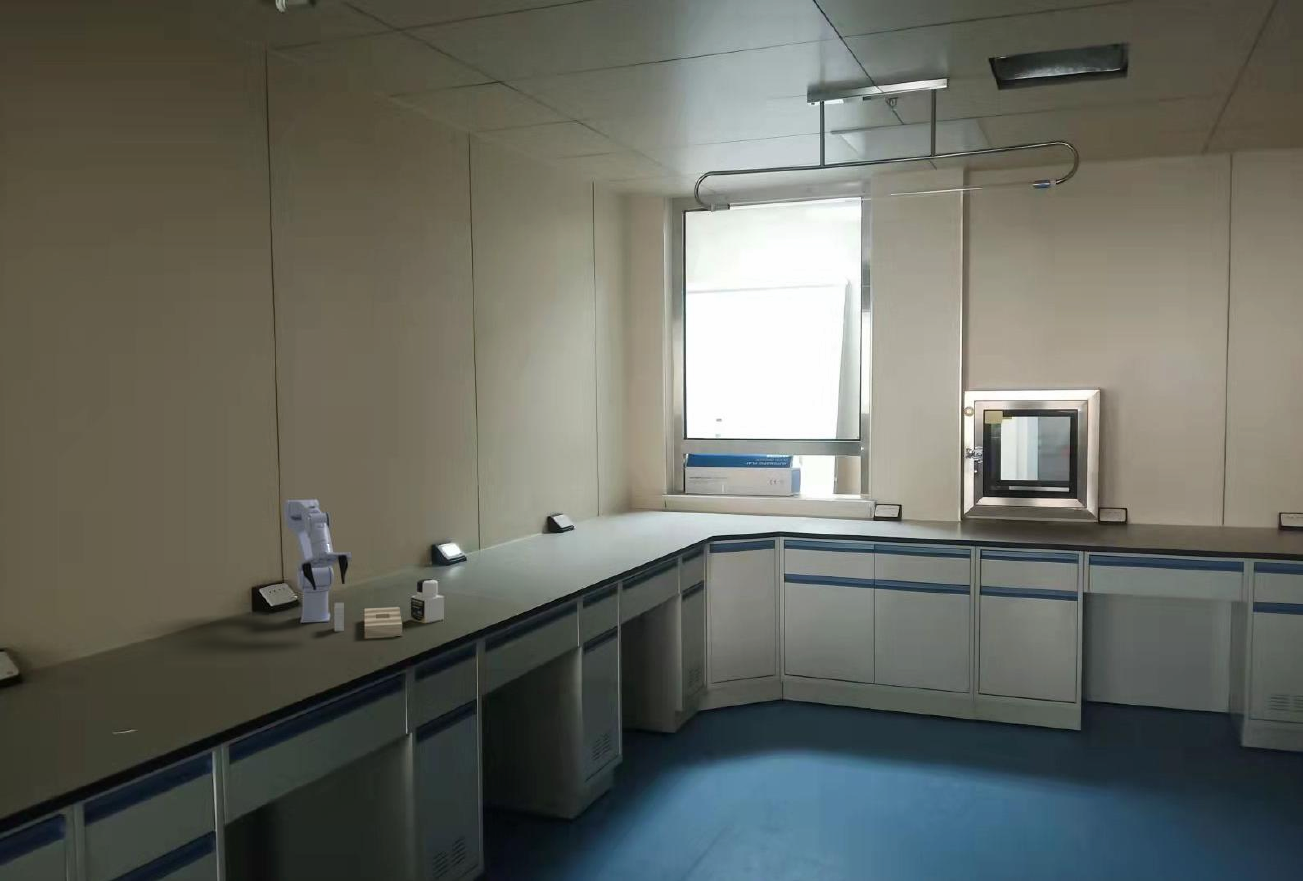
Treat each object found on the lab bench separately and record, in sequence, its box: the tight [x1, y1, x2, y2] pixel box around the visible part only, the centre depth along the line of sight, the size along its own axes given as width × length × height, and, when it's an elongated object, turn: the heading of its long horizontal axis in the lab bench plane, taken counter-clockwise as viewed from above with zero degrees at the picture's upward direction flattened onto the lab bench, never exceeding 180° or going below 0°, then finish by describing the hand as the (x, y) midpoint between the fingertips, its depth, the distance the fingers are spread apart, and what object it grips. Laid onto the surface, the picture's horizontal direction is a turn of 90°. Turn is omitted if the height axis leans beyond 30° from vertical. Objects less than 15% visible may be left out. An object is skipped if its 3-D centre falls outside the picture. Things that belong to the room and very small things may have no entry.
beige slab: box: [364, 606, 403, 639], centre depth 288 cm, size 22×10×4 cm, turn 16°
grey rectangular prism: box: [333, 602, 345, 632], centre depth 286 cm, size 7×2×7 cm, turn 16°
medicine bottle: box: [410, 578, 445, 624], centre depth 299 cm, size 7×7×12 cm
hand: (328, 584), depth 280 cm, fingers open, 7 cm apart
